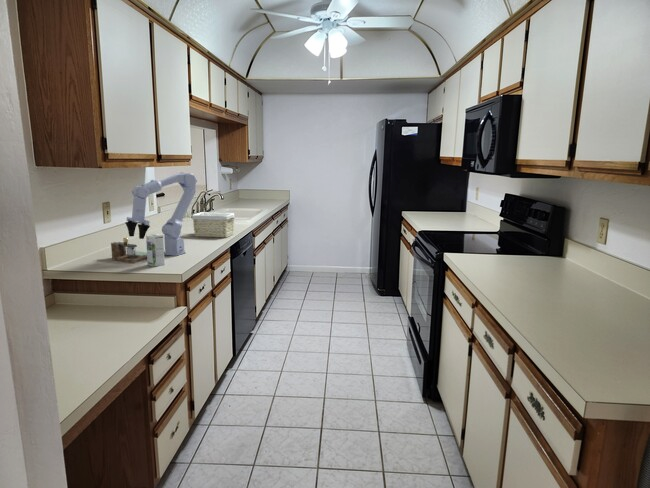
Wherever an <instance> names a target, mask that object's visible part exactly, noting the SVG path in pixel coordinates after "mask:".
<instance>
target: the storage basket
mask: <svg viewBox="0 0 650 488" xmlns="http://www.w3.org/2000/svg"><path fill="white" fill-rule="evenodd" d="M235 217H236V215H235V213H234V212H214V211H213V212H212V211H211V212H210V211H208V212H207V211H201V212H197V213H194V214H192V216H191V219H192V221H193V231H194V237H197V238H202V237H203V238H229V237H231V236H232V235H234V229H235V228H234V227H235V223H234V222H235Z"/></svg>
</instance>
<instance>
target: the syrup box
mask: <svg viewBox="0 0 650 488" xmlns="http://www.w3.org/2000/svg"><path fill="white" fill-rule="evenodd" d="M145 239H146V252H147V255H146V256H147V259H146V260H147V262H146V263H147V264H146V265H148V266H151V267H160V266H163V265H165V254H164V252H165V241H164V234H163V235H162V234H158V233H151V234H147V235H146V234H145Z"/></svg>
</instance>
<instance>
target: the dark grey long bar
mask: <svg viewBox="0 0 650 488" xmlns="http://www.w3.org/2000/svg"><path fill="white" fill-rule="evenodd" d="M112 243H113V244H119V246H123V247H126V248H127V247H131V248H133V247H135V248H136V247H137V245H138V244H134V243H129V238H128V237H124V238H123V243H118V242H117V241H113V242H110V245H111V244H112Z"/></svg>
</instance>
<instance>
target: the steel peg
mask: <svg viewBox="0 0 650 488" xmlns="http://www.w3.org/2000/svg"><path fill="white" fill-rule="evenodd" d="M136 252H137V251H136V247H133V248H131V247H126V254H127V258H129V259H133V258H136Z"/></svg>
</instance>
